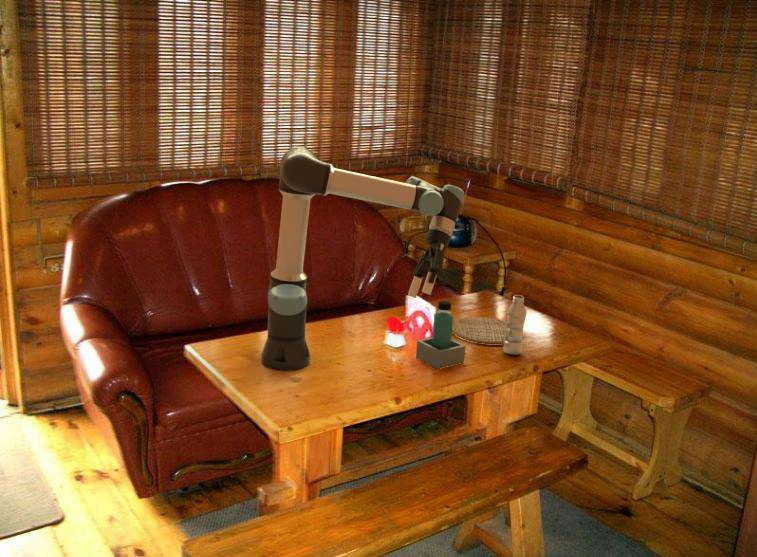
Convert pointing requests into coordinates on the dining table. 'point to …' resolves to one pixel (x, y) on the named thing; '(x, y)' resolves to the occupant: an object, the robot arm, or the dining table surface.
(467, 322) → the trivet
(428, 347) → the bottle holder
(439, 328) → the beverage bottle
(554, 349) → the dining table surface
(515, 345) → the plastic bottle
